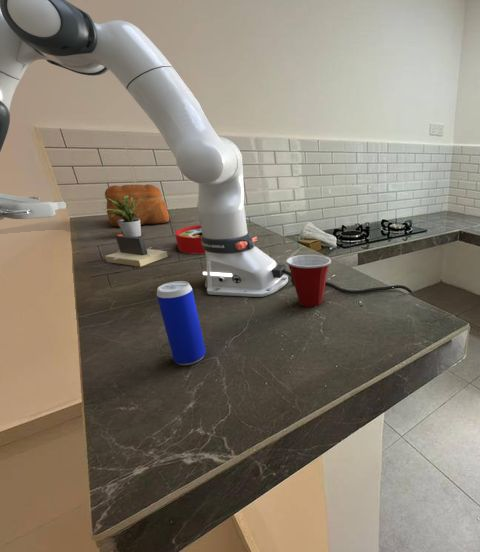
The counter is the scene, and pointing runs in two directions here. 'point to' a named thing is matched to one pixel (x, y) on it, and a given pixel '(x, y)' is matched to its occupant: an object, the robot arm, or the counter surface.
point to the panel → (136, 257)
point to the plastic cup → (309, 277)
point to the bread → (148, 200)
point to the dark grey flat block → (131, 244)
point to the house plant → (127, 217)
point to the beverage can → (181, 322)
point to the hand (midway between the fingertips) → (51, 202)
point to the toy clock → (190, 240)
